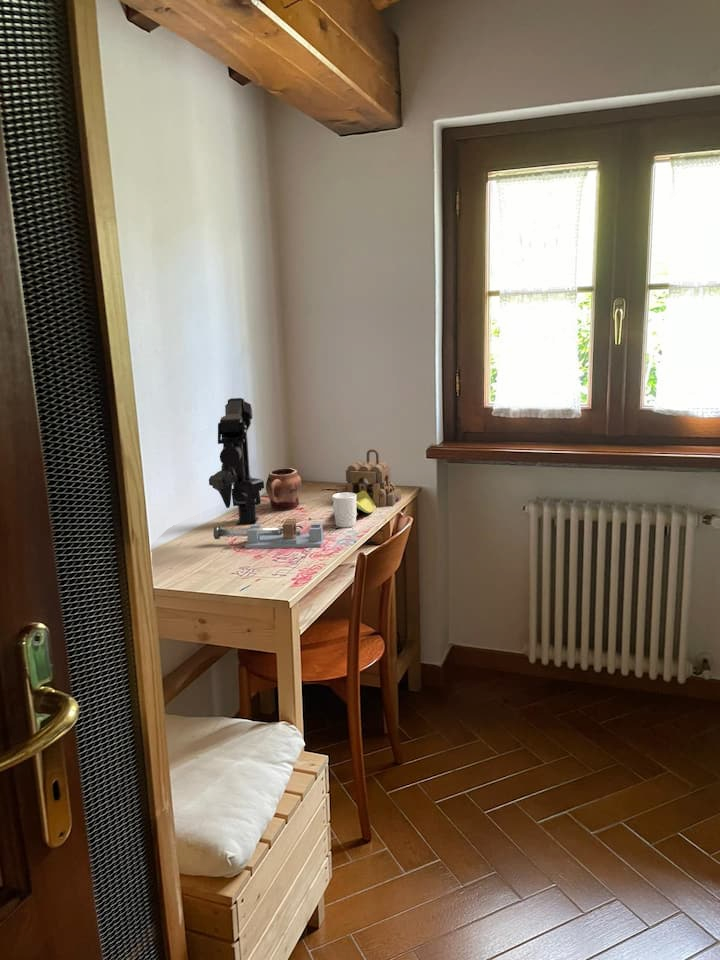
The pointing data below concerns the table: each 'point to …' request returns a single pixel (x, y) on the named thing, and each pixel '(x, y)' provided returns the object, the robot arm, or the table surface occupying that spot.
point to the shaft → (245, 532)
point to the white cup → (345, 509)
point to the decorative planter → (283, 488)
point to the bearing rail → (277, 541)
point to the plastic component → (365, 502)
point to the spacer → (289, 529)
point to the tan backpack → (372, 481)
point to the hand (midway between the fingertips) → (238, 509)
